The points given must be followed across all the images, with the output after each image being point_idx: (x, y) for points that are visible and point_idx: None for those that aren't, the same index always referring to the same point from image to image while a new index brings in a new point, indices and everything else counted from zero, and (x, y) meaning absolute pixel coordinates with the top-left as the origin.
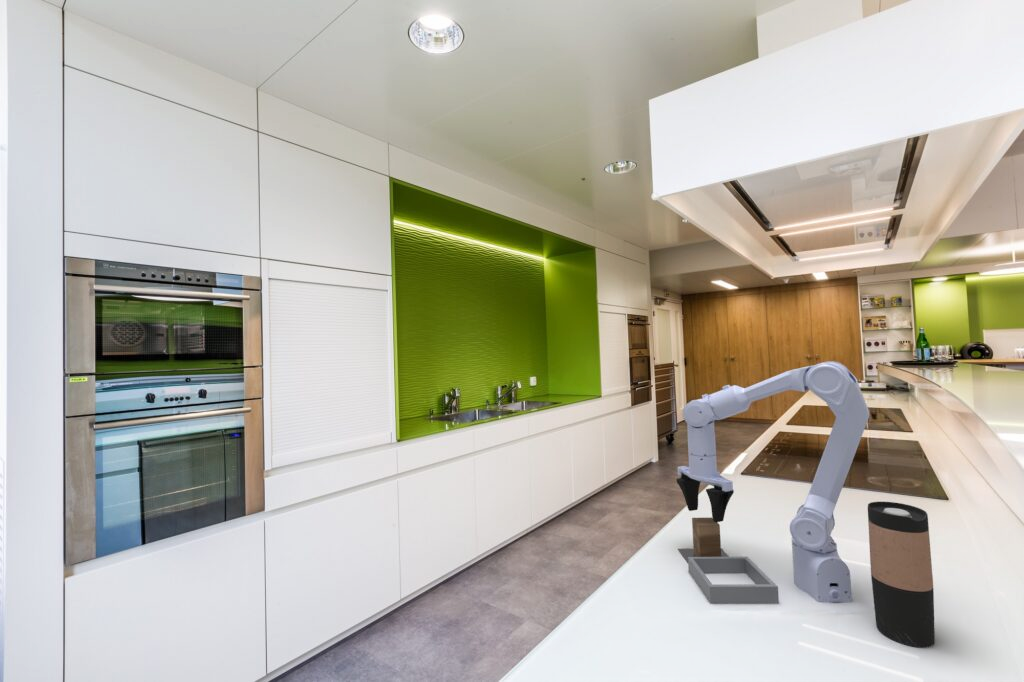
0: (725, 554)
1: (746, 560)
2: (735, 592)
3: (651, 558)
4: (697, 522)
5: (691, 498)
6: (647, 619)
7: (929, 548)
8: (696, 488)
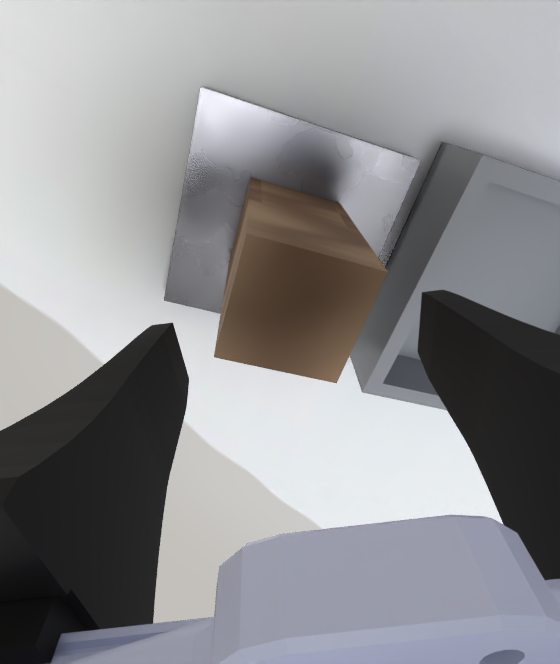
0: (272, 121)
1: (501, 185)
2: None
3: (192, 391)
4: (299, 370)
5: (160, 427)
6: (464, 507)
7: None
8: (114, 447)
